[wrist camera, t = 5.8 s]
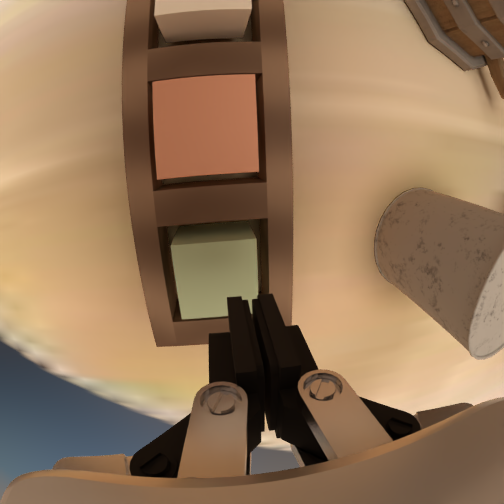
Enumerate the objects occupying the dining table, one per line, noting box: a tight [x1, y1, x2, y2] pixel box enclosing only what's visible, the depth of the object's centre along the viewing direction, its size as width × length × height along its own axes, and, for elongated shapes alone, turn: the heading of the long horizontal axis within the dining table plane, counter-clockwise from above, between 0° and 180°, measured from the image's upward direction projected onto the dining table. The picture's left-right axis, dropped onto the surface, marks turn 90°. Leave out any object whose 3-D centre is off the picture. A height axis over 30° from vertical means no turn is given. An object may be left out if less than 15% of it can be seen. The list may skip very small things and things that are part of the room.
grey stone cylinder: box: [374, 188, 504, 360], centre depth 18 cm, size 10×10×12 cm
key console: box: [122, 0, 293, 347], centre depth 17 cm, size 29×10×4 cm, turn 2°
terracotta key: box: [152, 74, 259, 180], centre depth 15 cm, size 5×5×4 cm
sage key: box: [171, 221, 258, 319], centre depth 20 cm, size 5×5×4 cm
